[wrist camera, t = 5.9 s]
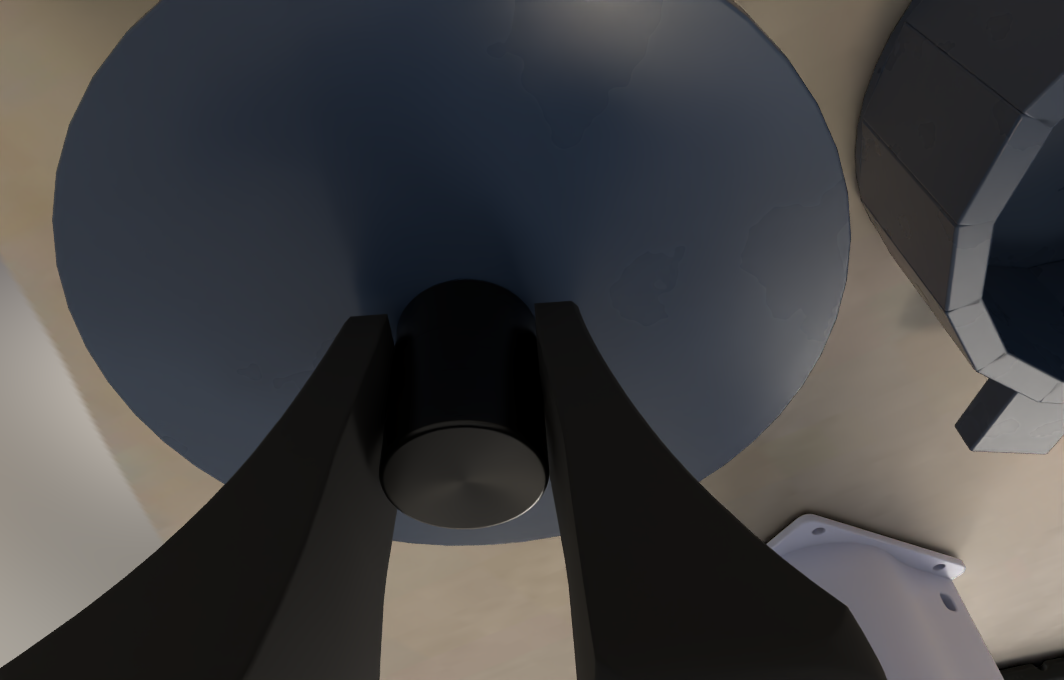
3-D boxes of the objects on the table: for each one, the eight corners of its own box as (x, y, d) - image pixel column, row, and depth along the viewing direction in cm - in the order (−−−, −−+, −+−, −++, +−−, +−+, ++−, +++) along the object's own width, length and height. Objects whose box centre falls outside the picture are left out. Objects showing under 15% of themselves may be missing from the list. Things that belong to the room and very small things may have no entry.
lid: (973, -47, 10) (1202, 75, 7) (709, 515, 19) (757, 688, 15) (-53, -184, 9) (-369, -107, 5) (166, 498, 17) (93, 686, 14)
